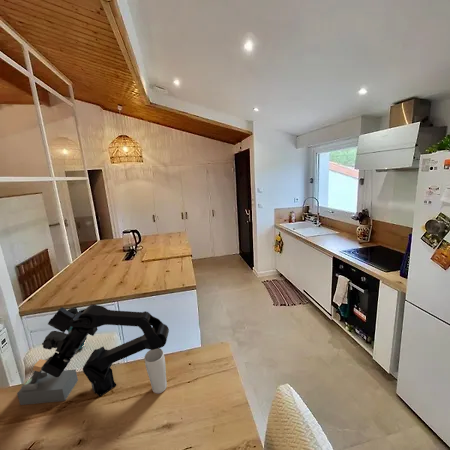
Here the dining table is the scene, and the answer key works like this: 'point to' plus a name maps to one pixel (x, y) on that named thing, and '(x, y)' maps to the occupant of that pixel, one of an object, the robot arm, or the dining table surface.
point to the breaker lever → (37, 370)
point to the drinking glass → (156, 369)
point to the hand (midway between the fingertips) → (55, 368)
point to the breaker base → (48, 388)
